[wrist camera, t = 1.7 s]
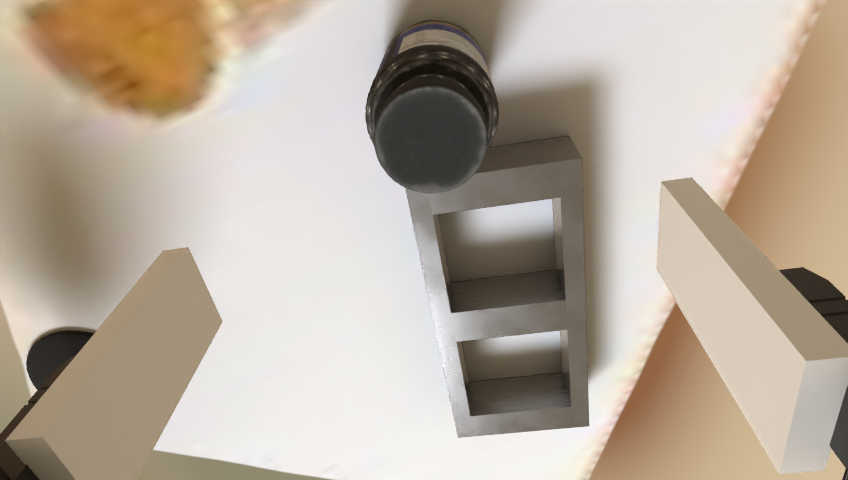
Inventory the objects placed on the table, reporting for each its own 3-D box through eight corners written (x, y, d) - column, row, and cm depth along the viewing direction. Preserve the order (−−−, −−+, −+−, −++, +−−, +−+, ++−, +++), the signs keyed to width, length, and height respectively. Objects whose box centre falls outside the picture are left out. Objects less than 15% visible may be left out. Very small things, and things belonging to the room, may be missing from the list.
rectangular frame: (408, 160, 34) (404, 183, 31) (569, 135, 33) (581, 158, 30) (457, 402, 46) (458, 437, 43) (579, 391, 44) (589, 425, 41)
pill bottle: (435, 144, 34) (431, 235, 24) (359, 75, 32) (323, 145, 22) (509, 72, 31) (537, 142, 22) (433, -8, 29) (427, 31, 20)
